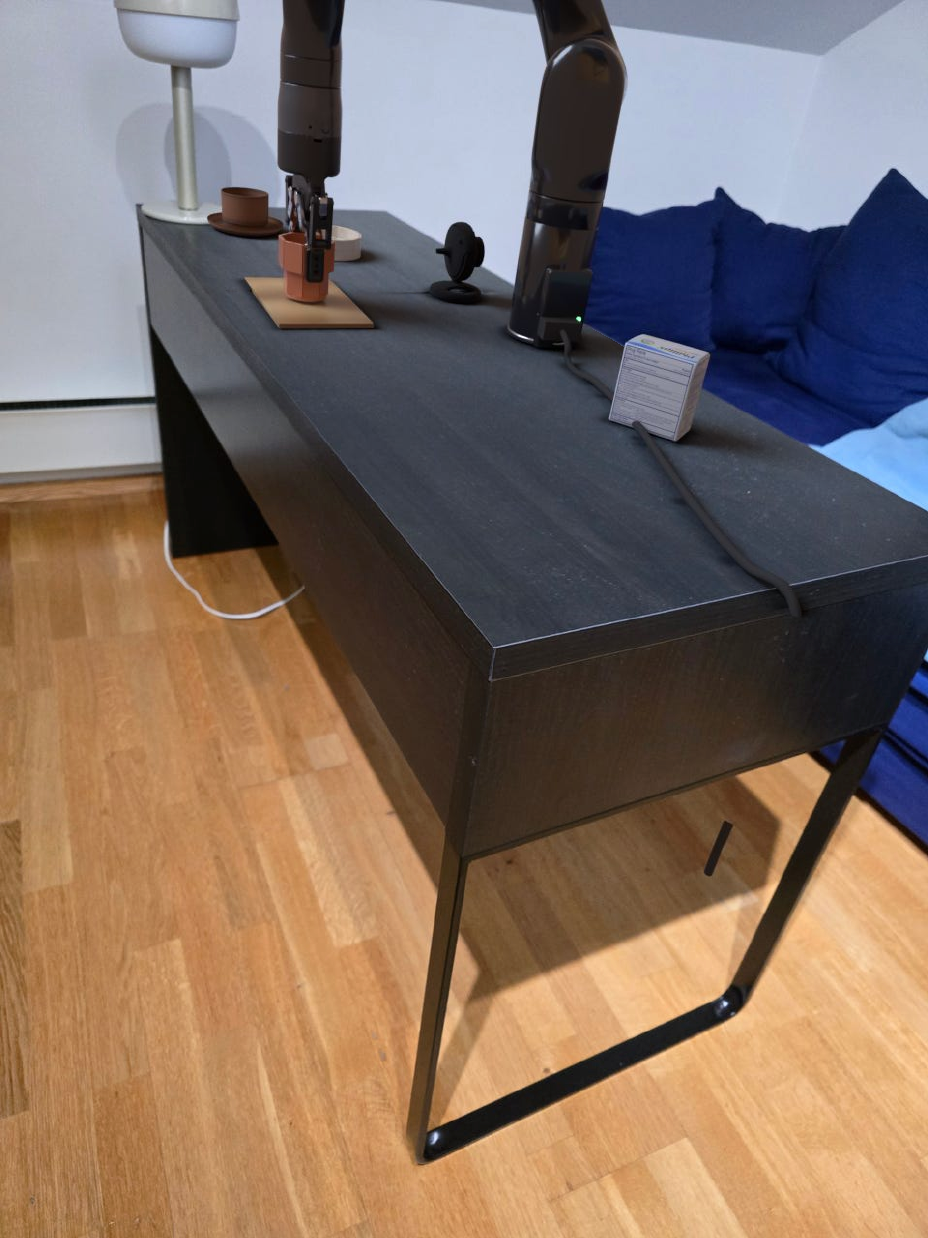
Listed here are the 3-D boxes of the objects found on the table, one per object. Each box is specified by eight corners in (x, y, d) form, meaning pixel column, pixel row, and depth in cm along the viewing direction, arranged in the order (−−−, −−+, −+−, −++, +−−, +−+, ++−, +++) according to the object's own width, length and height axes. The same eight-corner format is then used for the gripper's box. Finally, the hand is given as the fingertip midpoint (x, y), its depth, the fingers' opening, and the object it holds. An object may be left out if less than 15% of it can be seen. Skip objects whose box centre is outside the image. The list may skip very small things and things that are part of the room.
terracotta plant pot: (337, 303, 114) (339, 246, 110) (286, 302, 111) (287, 244, 107) (323, 288, 119) (325, 233, 115) (274, 287, 116) (274, 231, 112)
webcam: (489, 304, 126) (499, 229, 120) (442, 304, 123) (450, 228, 117) (467, 288, 132) (475, 216, 126) (421, 288, 129) (427, 214, 123)
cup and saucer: (198, 223, 145) (197, 182, 141) (270, 224, 150) (269, 185, 147) (219, 241, 136) (217, 198, 133) (293, 242, 142) (293, 201, 138)
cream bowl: (368, 265, 136) (370, 241, 134) (304, 263, 132) (304, 238, 130) (349, 248, 143) (350, 225, 141) (287, 246, 139) (287, 222, 137)
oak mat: (373, 328, 111) (374, 323, 110) (279, 328, 106) (279, 323, 106) (329, 282, 125) (329, 278, 125) (244, 281, 121) (244, 276, 120)
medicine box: (690, 432, 94) (712, 352, 90) (675, 444, 91) (698, 362, 86) (623, 410, 97) (641, 332, 93) (606, 420, 94) (625, 340, 89)
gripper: (264, 116, 108) (265, 258, 117) (293, 135, 97) (291, 289, 107) (324, 121, 111) (320, 259, 120) (358, 140, 100) (351, 290, 110)
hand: (306, 273), depth 113 cm, fingers closed on terracotta plant pot, 6 cm apart
